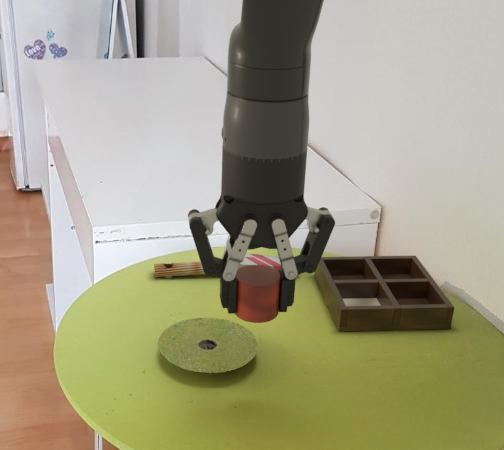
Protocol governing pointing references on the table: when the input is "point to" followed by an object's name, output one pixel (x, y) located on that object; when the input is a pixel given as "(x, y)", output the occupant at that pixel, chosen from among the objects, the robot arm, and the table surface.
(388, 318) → the grid
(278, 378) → the table surface
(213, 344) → the green disc
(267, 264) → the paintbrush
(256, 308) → the red cylinder
